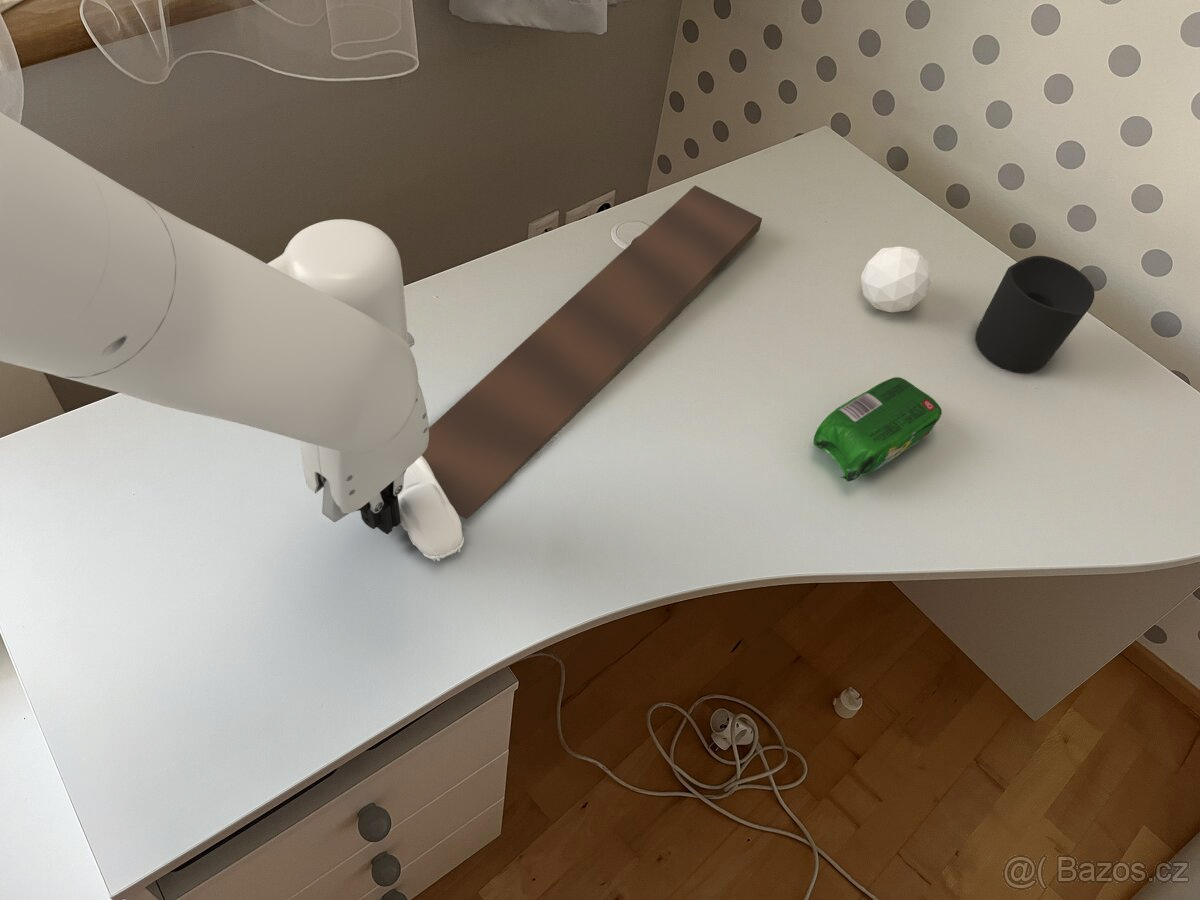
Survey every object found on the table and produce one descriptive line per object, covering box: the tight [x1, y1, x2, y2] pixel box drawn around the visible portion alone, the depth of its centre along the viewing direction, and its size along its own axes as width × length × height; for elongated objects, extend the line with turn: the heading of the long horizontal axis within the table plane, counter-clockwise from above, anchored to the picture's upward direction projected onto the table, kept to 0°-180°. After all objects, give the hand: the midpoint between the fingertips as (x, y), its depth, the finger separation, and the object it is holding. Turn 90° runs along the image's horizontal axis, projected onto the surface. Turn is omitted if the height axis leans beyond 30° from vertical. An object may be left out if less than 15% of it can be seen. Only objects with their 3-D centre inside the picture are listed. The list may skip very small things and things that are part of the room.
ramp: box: [421, 185, 763, 520], centre depth 99 cm, size 56×10×5 cm, turn 144°
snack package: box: [813, 376, 943, 482], centre depth 92 cm, size 7×16×5 cm, turn 127°
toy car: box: [398, 456, 465, 562], centre depth 82 cm, size 5×12×4 cm, turn 32°
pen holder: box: [975, 255, 1095, 373], centre depth 102 cm, size 9×9×10 cm
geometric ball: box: [860, 245, 932, 313], centre depth 106 cm, size 8×8×8 cm
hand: (381, 520), depth 80 cm, fingers closed
